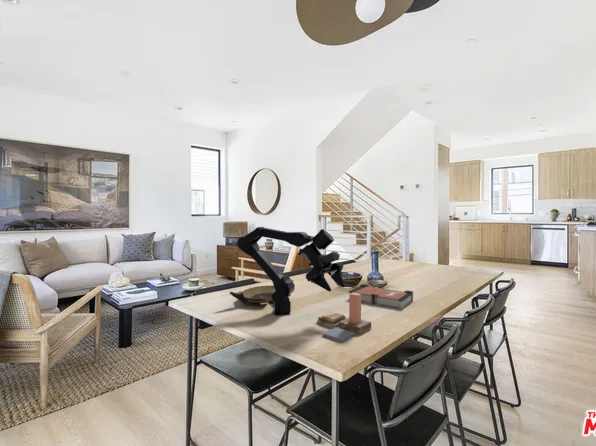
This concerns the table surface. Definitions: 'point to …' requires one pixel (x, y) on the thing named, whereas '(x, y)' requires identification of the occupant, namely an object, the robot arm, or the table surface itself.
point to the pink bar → (355, 308)
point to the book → (384, 296)
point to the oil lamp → (255, 294)
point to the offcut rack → (343, 323)
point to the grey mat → (338, 334)
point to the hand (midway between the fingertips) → (337, 288)
